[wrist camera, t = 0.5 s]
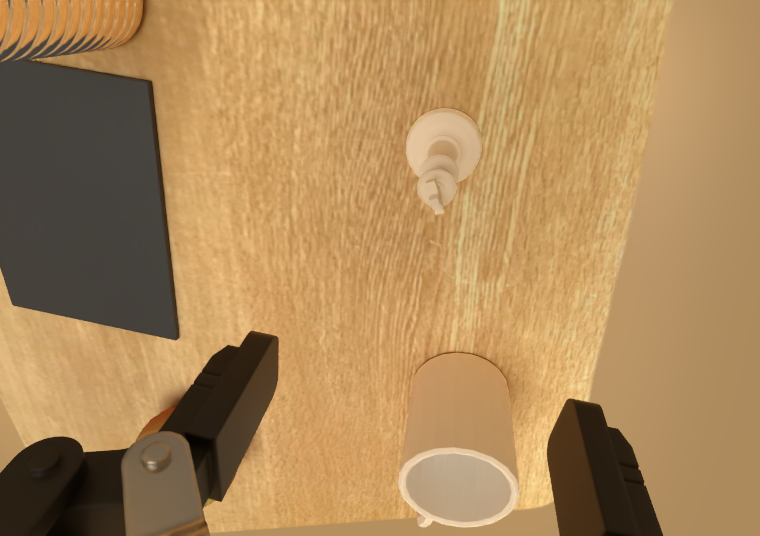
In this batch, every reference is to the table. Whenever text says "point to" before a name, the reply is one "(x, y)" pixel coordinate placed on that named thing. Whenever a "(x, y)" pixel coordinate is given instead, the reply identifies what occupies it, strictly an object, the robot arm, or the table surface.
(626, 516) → the robot arm
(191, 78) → the table surface
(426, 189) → the chess piece
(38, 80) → the mat
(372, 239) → the table surface
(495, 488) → the mug
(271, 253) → the table surface
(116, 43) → the water bottle
